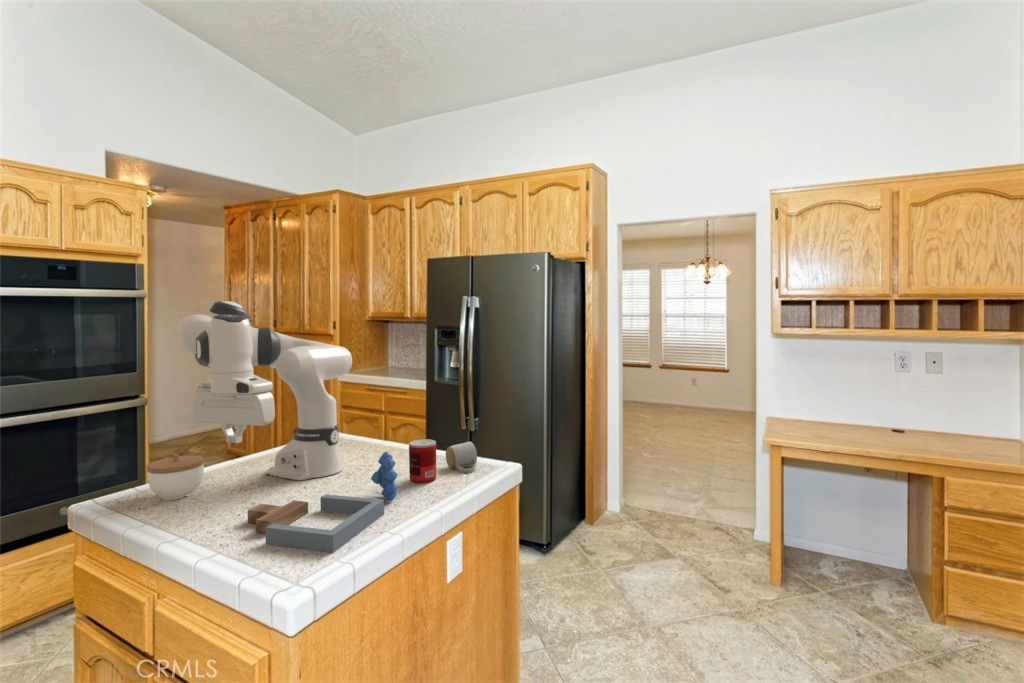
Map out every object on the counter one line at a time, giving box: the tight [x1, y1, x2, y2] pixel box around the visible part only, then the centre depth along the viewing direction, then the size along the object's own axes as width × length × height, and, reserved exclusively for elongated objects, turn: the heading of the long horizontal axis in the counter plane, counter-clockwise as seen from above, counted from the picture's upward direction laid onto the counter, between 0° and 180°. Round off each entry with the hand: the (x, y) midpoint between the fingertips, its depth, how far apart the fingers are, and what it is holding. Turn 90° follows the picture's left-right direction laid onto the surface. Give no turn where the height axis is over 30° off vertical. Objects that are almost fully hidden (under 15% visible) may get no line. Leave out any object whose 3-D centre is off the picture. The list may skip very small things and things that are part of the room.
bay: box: [265, 494, 385, 554], centre depth 108 cm, size 16×20×4 cm
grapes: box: [370, 451, 399, 502], centre depth 126 cm, size 12×7×12 cm, turn 27°
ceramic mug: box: [445, 441, 478, 474], centre depth 152 cm, size 11×8×8 cm
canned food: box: [408, 438, 437, 485], centre depth 141 cm, size 8×8×11 cm
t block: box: [247, 499, 309, 535], centre depth 112 cm, size 10×12×3 cm
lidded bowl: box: [146, 453, 205, 500], centre depth 130 cm, size 13×13×11 cm
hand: (234, 442), depth 114 cm, fingers closed
